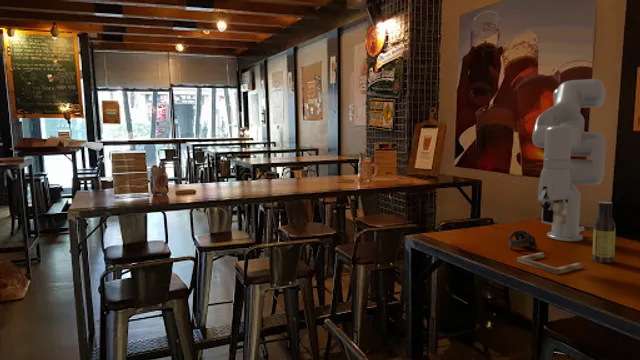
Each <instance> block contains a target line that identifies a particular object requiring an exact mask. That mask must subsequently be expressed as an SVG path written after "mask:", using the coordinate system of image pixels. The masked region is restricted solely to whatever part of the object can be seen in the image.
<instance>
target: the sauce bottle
mask: <svg viewBox="0 0 640 360" xmlns="http://www.w3.org/2000/svg"><path fill="white" fill-rule="evenodd" d="M613 207H614V205H613V202H611V201H598V214H597V217H596V218H595V220H594V222H593V229H592V230H593V231H592V232H593V234H592V253H591V254H592V261H594V262H597V263H603V264H607V263H609V264H610V263H613V262H614V261H615V259H614V258H615V255H616V254H615V253H616V252H615V251H616V232H617V231H616V230H617V228H616V227H617V226H616V222H615V220H614V219H613V217H612V216H613Z"/></svg>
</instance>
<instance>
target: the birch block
mask: <svg viewBox="0 0 640 360" xmlns="http://www.w3.org/2000/svg"><path fill="white" fill-rule="evenodd" d="M547 203H548V204H549V203H550V202H547ZM552 210H553V222H552V223H550V222H545V221H543V209H542V208H541V220H540V221H541V223H542V224H546V225H547V224H548V225H551V226H552V225H555V226H556V225H562V224H566V210H567V202H561V201H554V203H553V207H552Z"/></svg>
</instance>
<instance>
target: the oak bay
mask: <svg viewBox="0 0 640 360" xmlns="http://www.w3.org/2000/svg"><path fill="white" fill-rule="evenodd" d="M545 256H546V255H545V252H543V251H541V252H540V251H539V252H536V253H532V254H527V255H523V256H522V255H521V256H517V257H516V262H517V263H520V264H522V265H525V264H526V266H528V265H529V266H528V267H531V268H536V269H538V268H539V269H538V270H541V269H542V270H541V271H544V270H545V272H548V273H551V274H554V275H560V274H563V273H568V272H572V271H576V270H579V269H583V263H582V262H579V261H578V262H576V263H575V262H574V263H571V264H567V265H562V266H559V267H554V266H551V265H549V264H548V265H547V264H545V263H541V262H538V261H535V260H539V259H542V258H545Z"/></svg>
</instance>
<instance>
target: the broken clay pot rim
mask: <svg viewBox="0 0 640 360" xmlns="http://www.w3.org/2000/svg"><path fill="white" fill-rule="evenodd" d="M513 237H514V238H515V239H516V240H514V239H512V238H513ZM508 247H509V249H510V250H512V248H515V249H519V248H523V247H527V248H529V247H532V248H535V250H536V251H538V250H539V249H538V243H537V241H536V237H535V236H534V235H533V234H532V233H530V232H529V231H528V230H527V229H516V230H515V231H513V232H511V233H510V234H509V236H508Z"/></svg>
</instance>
